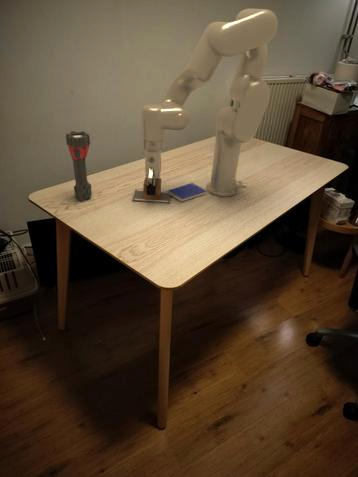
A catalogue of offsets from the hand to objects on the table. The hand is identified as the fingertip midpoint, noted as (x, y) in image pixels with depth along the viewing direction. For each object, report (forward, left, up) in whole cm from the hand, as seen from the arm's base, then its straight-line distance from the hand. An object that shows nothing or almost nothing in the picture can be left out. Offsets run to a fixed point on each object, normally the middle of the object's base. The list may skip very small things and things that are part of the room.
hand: (152, 188), depth 122 cm
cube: (0, 0, -3) cm, 3 cm away
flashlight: (+25, +3, -3) cm, 25 cm away
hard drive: (-13, -4, -3) cm, 14 cm away
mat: (0, 0, -3) cm, 3 cm away
